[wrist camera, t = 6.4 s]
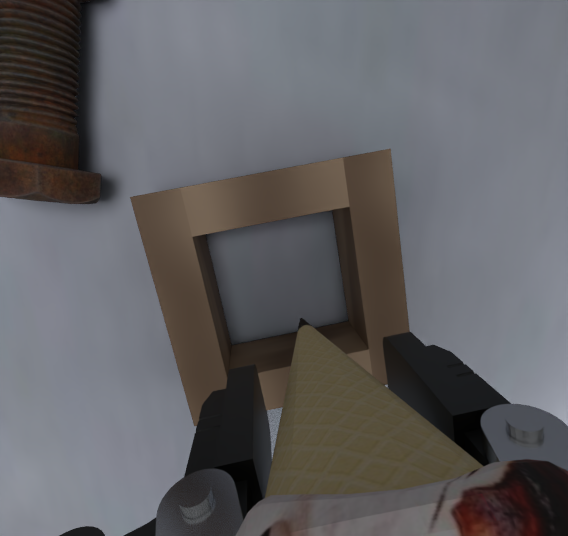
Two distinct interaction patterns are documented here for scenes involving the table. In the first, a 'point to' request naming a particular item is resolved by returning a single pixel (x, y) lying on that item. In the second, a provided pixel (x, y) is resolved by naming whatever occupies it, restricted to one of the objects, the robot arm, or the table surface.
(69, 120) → the bolt
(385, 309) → the wooden square frame
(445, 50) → the table surface
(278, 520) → the ice cream cone
